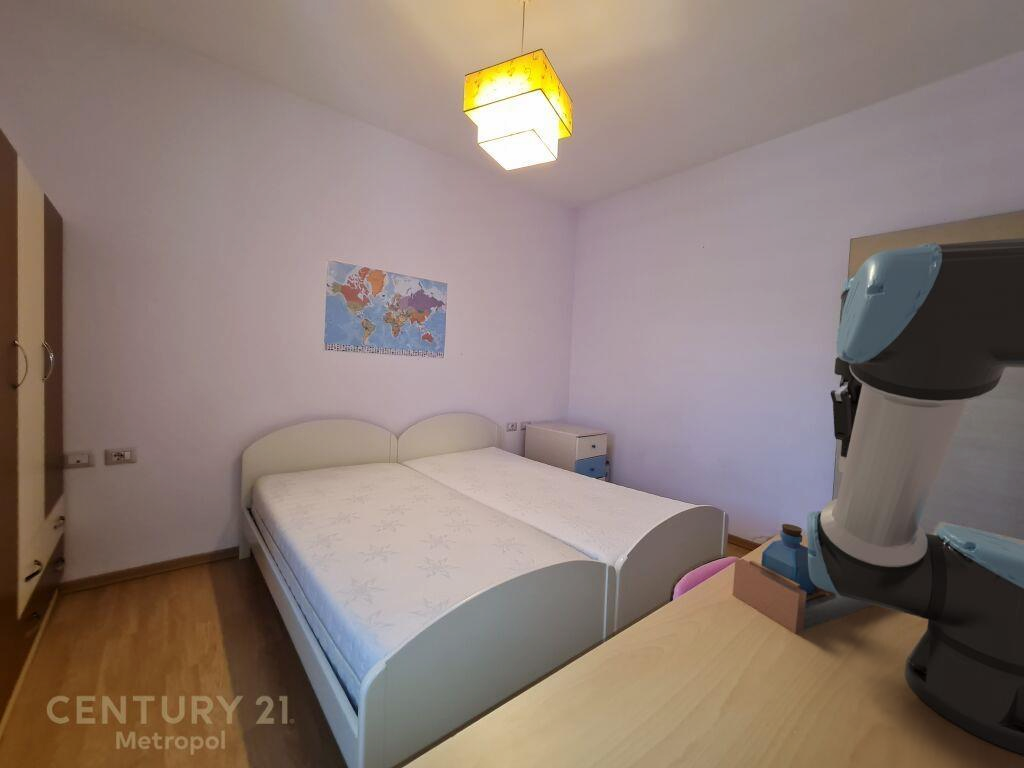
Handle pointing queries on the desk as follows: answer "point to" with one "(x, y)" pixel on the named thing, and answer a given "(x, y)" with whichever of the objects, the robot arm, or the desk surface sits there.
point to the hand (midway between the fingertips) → (848, 472)
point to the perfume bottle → (789, 557)
